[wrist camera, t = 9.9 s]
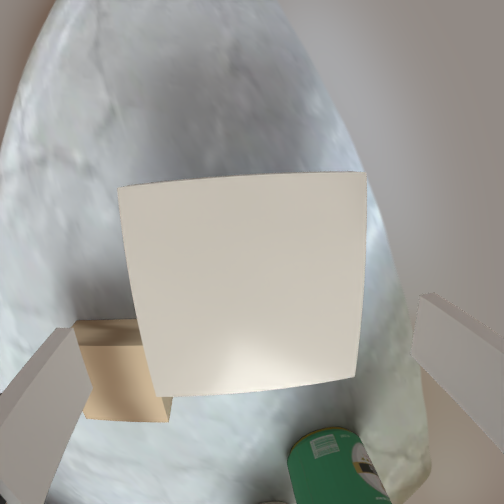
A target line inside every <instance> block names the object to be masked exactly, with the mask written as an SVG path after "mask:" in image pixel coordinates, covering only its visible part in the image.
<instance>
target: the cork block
mask: <svg viewBox="0 0 504 504" xmlns="http://www.w3.org/2000/svg"><path fill="white" fill-rule="evenodd" d="M71 328H74V332H75V335H76V338H77V342H78V345H79V348H80V352H81V355H82V358H83V361H84V364H85V367H86V370H87V373H88V376H89V378H90V381H91V384H92V387H93V389H92V391H91V394H90V396H89V398H88V400H87V402H86V404H85V406H84V408H83V413H84V415H85V417H86V419H97V420H110V421H128V422H169V418H170V411H171V405H172V399H173V397H156V394H155V390H154V387H153V383H152V379H151V375H150V372H149V368H148V364H147V360H146V356H145V352H144V348H143V343H142V339H141V335H140V330H139V326H138V321H137V319H118V320H77V321H76V322H75V323H74V324H73V326H72V327H71Z"/></svg>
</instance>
